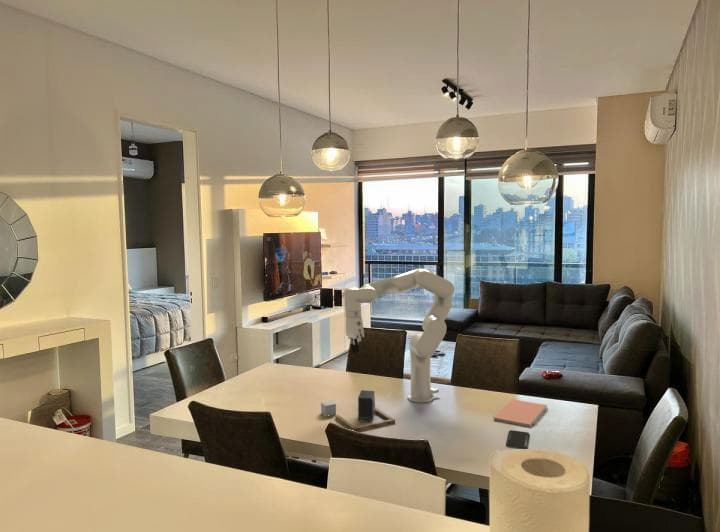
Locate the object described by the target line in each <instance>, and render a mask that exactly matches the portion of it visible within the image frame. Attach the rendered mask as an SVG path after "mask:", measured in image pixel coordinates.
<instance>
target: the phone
mask: <svg viewBox="0 0 720 532" xmlns="http://www.w3.org/2000/svg"><path fill="white" fill-rule="evenodd" d="M529 438H530V433H529V432H528V431H519V430H513V429H511V430H508V434H507V437H506V441H505V447H507V448H512V449H520V450H527V449H528V447H529V446H528V445H529Z"/></svg>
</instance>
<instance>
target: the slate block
mask: <svg viewBox="0 0 720 532" xmlns="http://www.w3.org/2000/svg"><path fill="white" fill-rule="evenodd" d="M320 406H321V407H320V409H321V411H320V412H321V414H322V413H323V414H324V415H325V416H324V415H323V414H322V415H323V416H324V417H326V416H327V417H329V416H328V415H332V416H335V415H334V414H336V415H337V404H336V403H335V402H333V401H332V400H326V401H322V402H320Z"/></svg>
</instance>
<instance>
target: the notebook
mask: <svg viewBox="0 0 720 532" xmlns="http://www.w3.org/2000/svg"><path fill="white" fill-rule="evenodd" d="M547 411H548V405H547V404H542V403H538V402H537V403H536V402H532V401H525V400H519V399H511V400H510V401H509V402H507V404H506V405H504V406H503V407H502V408H500V410H499V411H498V412H497V413H496V414H495V415H494V416H492V418H493V421H498V422H503V423H506V424H507V423H509V424H513V425H517V426H522V427H523V426H524V427H529V428H532V426H535V425H536V424H537V423H538V422H539V420H540V419H541V418H542V417H543V416H544V415H545V413H546V412H547Z"/></svg>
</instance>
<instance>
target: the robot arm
mask: <svg viewBox="0 0 720 532" xmlns="http://www.w3.org/2000/svg"><path fill="white" fill-rule="evenodd" d="M417 288H421V289H423V290H425V291H427V292H429V293H431V294H433V295H434V300H433V303H432V305H431V306H430V309H429V311H428V312H427V314H426V315H425V317H424V319H423V320H422V323H421V328H422V330H423V332H422V333H416V334H414V335H412V336H411V338H410V339H409V346H408V347H409V357H410V394H408V395H407V399H408V401H410V402H413V403H417V404H418V403H419V404H423V403H430V402H432V401H434V399H435V398H434V397H435V396H434V394H437V393H439V392H440V389H439V388H433V387H432V388H431V384H432V383H431V357H433V355H434V354H435V352H436V351H437V349H438V348H439V346H440V344H441V342H442V341H443V339H444V338H445V337H446V336H445V335H446V334H447V327H448V326H447V323H446V321H445V320H446V319H447V317H448V315H449V313H450V310H451V309H452V303H453V295H454V294H455V286H454V283H453V282H451V281H450V280H448V279H446V278H443V277H441V276H440V275H437V274H435V273H433V272H431V271H429V270H428V269H425V268H416V269H413V270H412V269H411V270H410V271H407V272H404V273H401V274H400V273H399V274H398V275H394V276H391V277H387V278H382V279H379V280H376V281H373V282H370V283H367V284H364V285H362V286H361V287H360V288H359V287H357V286H356V287H346V288H345V289H343V290H344V292H343V293H344V294H343V295H344V312H345V315H344V316H345V335H346V336H347V338H348V339H349V342H350V349H351V350H350V351H351V353H353V354H355V353H359V352H360V347H359V346H360V345H359V344H360V342H362V339H363V338H365V330H364V323H363V318H362V304H361V303H364V304H371V303H374V302H375V301H377V299H378V297H381V296H384V295H398V294H403V293H405V292H409V291H410V290H414V289H417Z"/></svg>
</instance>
